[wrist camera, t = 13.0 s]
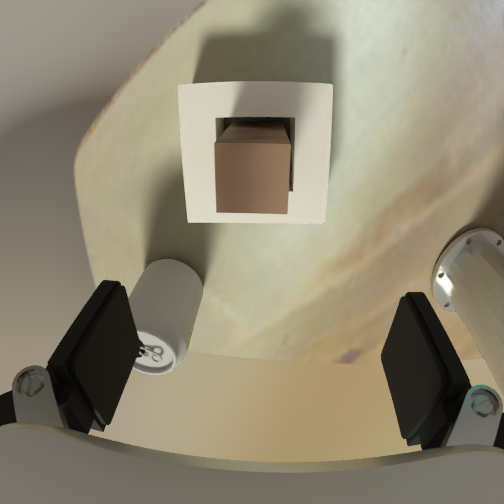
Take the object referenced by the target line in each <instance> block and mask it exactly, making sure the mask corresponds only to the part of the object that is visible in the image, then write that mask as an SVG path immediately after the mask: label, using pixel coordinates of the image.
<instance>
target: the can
mask: <svg viewBox="0 0 504 504" xmlns="http://www.w3.org/2000/svg"><path fill="white" fill-rule="evenodd" d="M202 294H203V286H202V283H201V280H200V278H199V276H198V275H197V274H196V272H195V271H194V270H193V269H192V268H190V267H189V266H188V265H186V264H185V263H182V262H180V261H177V260H172V259H161V260H156V261H154V262H152V263H151V264H149V265H148V266H147V268H146V269H145V270H144V272H143V273H142V275H141V277H140V279H139V280H138V282H137V284H136V286H135V287H134V289H133V291H132V293H131V295H130V296H129V298H128V300H129V304H130V308H131V312H132V315H133V319H134V322H135V326H136V329H137V333H138V336H139V340H140V351H139V354H138V356H137V358H136V361H135V363H134V366H133V368H134V369H135V370H137V371H140V372H143V373H146V374H151V375H162V374H166V373H169V372H171V371H172V370H173V369H174V368H175V366H176V365H178V364H179V363H180V362H182V361H183V360H184V358H185V355H186V354H187V350H188V346H189V342H190V339H191V335H192V331H193V327H194V324H195V320H196V316H197V313H198V309H199V305H200V302H201V298H202Z"/></svg>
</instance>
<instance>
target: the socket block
mask: <svg viewBox="0 0 504 504" xmlns="http://www.w3.org/2000/svg"><path fill="white" fill-rule="evenodd" d="M178 101H179V120H180V136H181V151H182V164H183V177H184V188H185V199H186V209H187V219H188V223H299V224H325V216H326V204H327V192H328V179H329V165H330V148H331V129H332V103H333V84H325V83H310V82H288V81H233V82H211V83H196V84H184V85H178ZM224 117H291V122H290V143H291V152H290V175H289V194H288V213H287V214H258V213H216V189H215V157H214V143H215V142H216V140H217V139H218V138H219V137H220V136H221V135H222V134H223V133H224Z"/></svg>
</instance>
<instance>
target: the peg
mask: <svg viewBox="0 0 504 504" xmlns="http://www.w3.org/2000/svg"><path fill="white" fill-rule="evenodd" d="M290 152H291V143H290V141H289V138H288V136H287V133H286V131H285V129H284V126H283V124H282V122H279V121H234V122H233V123H232V124H231V125H230V126H229V127H228V128H227V129H226V130H225V132H224V133H223V134H222V135H221V136H220V137H219V138H218V139H217V140H216V142H215V143H214V157H215V189H216V213H258V214H287V213H288V194H289V175H290Z"/></svg>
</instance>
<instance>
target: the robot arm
mask: <svg viewBox="0 0 504 504" xmlns="http://www.w3.org/2000/svg"><path fill="white" fill-rule="evenodd" d="M431 289H432V294H433V296H434V298H435V300H436V302H437V303H438V305H439V306H440V307H441V308H442V309H444V310H447V311H449V312H457V313H458V315H459V317H460V318H461V320H462V321H463V323H464V325H465V326H466V328H467V330H468V331H469V333H470V335H471V336H472V338H473V340H474V342H475V343H476V345H477V347H478V349H479V350H480V352H481V354H482V356H483V358H484V360H485V361H486V363H487V365H488V367H489V369H490V371H491V373H492V374H493V377H494V378H495V380H496V382H497V384H498V386H499V388H500V390H501V392H502V393H503V394H504V240H503V238H502V237H501V236H500V235H499V234H498V233H496V232H495V231H494V230H491V229H489V228H476V229H472V230H470V231H467V232H465V233H463V234H462V235H460V236H459V237H457V238H456V239H455V240H454V241H453V242H451V244H450V245H449V246H448V247H447V248H446V249H445V250H444V252H443V253H442V255H441V256H440V258H439V260H438V262H437V263H436V265H435V268H434V271H433V274H432V280H431ZM139 351H140V340H139V336H138V333H137V329H136V326H135V322H134V319H133V315H132V312H131V308H130V304H129V300H128V296H127V293H126V289H125V287H124V286H121V283H120V282H119V281H110V280H103V281H102V282H101V283H100V285H99V286H98V287H97V289H96V290H95V292H94V293H93V295H92V296H91V297H90V299H89V300H88V302H87V303H86V304H85V306H84V307H83V309H82V310H81V312H80V313H79V315H78V316H77V318H76V319H75V320H74V322H73V324H72V325H71V326H70V328H69V329H68V331H67V333H66V334H65V336H64V337H63V339H62V340H61V342H60V343H59V345H58V346H57V348H56V350H55V352H54V353H53V354H52V356H51V358H50V359H49V361H48V365H47V367H46V369H45V368H43V367H41V366H37V365H33V366H29V367H26V368H24V369H22V370H21V371H20V372H19V373H18V374H17V375H16V377H15V378H14V380H13V383H12V390H11V391H9V392H7V393H4V394H2V395H0V504H504V413H503V412H502V410H503V404H502V400H501V398H500V396H499V394H498V393H497V392H496V391H495V390H494V389H491V388H490V387H488V386H485V385H476V386H473V387H472V386H471V384H470V380H469V378H468V376H467V374H466V371H465V369H464V367H463V365H462V363H461V361H460V359H459V357H458V355H457V353H456V351H455V349H454V347H453V345H452V343H451V341H450V339H449V337H448V335H447V333H446V331H445V330H444V328H443V326H442V324H441V322H440V320H439V318H438V317H437V315H436V313H435V311H434V309H433V308H432V306H431V304H430V302H429V301H428V299H427V297H426V295H425V294H424V293H423V292H408V293H406V295H405V296H403V297H401V299H400V302H399V305H398V308H397V311H396V314H395V317H394V320H393V323H392V325H391V328H390V331H389V334H388V337H387V339H386V342H385V345H384V347H383V350H382V353H381V361H382V365H383V368H384V371H385V375H386V378H387V382H388V385H389V389H390V393H391V397H392V400H393V404H394V408H395V412H396V415H397V420H398V424H399V428H400V432H401V436H402V437H403V439H406V440H407V445H408V446H413V445H418V444H421V448H422V451H416V452H410V453H403V454H396V455H389V456H381V457H373V458H364V459H353V460H341V461H326V462H256V461H239V460H226V459H216V458H206V457H198V456H190V455H183V454H176V453H170V452H164V451H159V450H153V449H148V448H143V447H138V446H133V445H129V444H124V443H120V442H116V441H112V440H108V439H104V438H100V437H96V436H92V435H89V434H88V433H89V431H90V428H91V429H94V430H98V431H102V432H104V429H105V426H106V425H109V424H110V423H111V421H112V418H113V416H114V413H115V410H116V408H117V405H118V403H119V400H120V398H121V395H122V393H123V390H124V387H125V385H126V383H127V380H128V378H129V375H130V373H131V370H132V368H133V366H134V363H135V361H136V358H137V356H138V354H139Z"/></svg>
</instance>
